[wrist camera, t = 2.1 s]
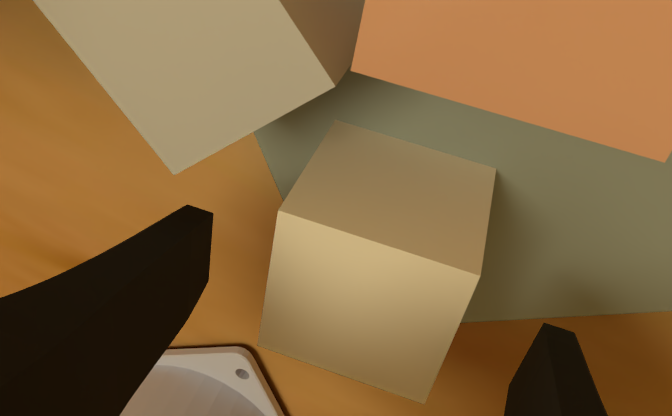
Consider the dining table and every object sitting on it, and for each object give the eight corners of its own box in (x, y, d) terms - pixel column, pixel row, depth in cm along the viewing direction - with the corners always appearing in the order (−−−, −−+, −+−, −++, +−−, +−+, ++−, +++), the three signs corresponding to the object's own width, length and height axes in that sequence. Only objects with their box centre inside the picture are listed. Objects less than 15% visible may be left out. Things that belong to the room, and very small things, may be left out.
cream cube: (496, 168, 15) (480, 276, 12) (448, 288, 17) (424, 404, 14) (335, 119, 15) (278, 210, 12) (310, 243, 18) (256, 345, 15)
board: (802, 281, 15) (814, 303, 14) (345, 311, 20) (338, 329, 19) (828, -728, 8) (853, -773, 7) (93, -292, 13) (69, -295, 12)
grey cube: (386, 13, 14) (335, 86, 10) (251, 93, 16) (173, 175, 12) (279, -169, 12) (182, -148, 9) (146, -55, 14) (29, -5, 11)
